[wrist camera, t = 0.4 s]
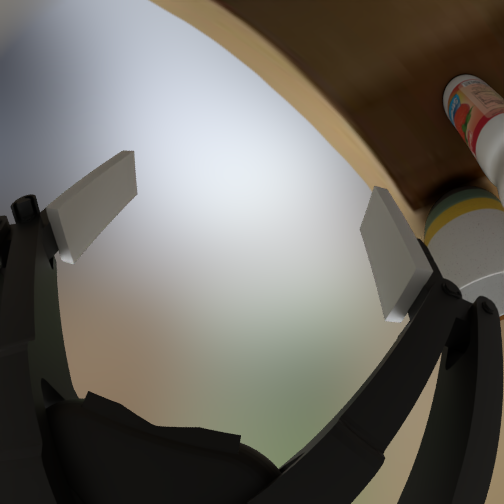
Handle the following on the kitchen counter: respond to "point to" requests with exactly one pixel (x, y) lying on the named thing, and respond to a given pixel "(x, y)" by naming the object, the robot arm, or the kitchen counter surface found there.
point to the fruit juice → (479, 123)
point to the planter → (469, 242)
